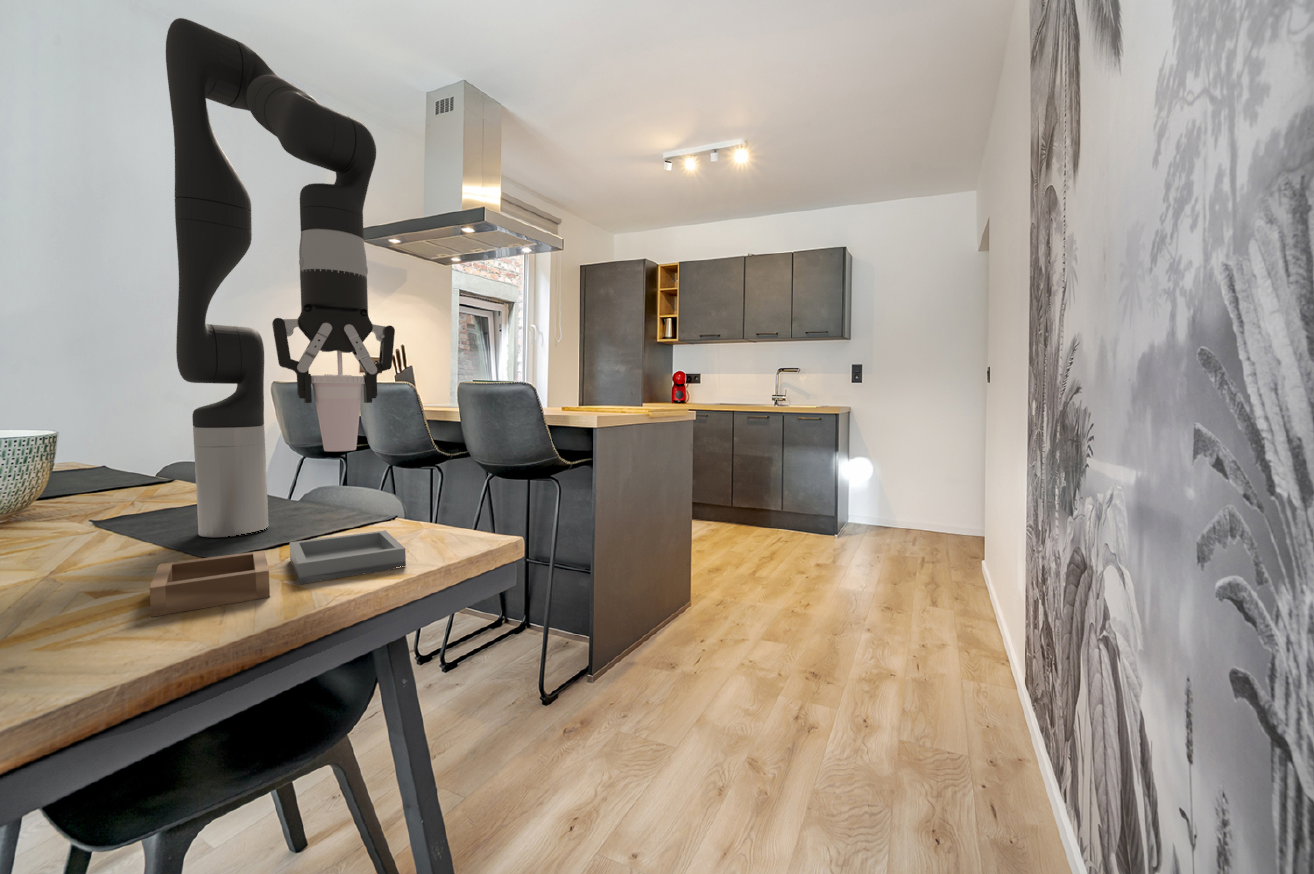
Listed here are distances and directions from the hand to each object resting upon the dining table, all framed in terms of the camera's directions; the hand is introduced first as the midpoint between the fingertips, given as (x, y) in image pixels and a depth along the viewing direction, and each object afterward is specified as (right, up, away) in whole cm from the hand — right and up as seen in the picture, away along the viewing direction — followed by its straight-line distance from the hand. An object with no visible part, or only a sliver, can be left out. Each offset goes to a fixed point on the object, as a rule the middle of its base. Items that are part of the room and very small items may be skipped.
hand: (338, 402), depth 75 cm
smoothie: (0, -6, +1) cm, 6 cm away
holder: (-9, -22, -10) cm, 26 cm away
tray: (0, -21, +2) cm, 22 cm away
